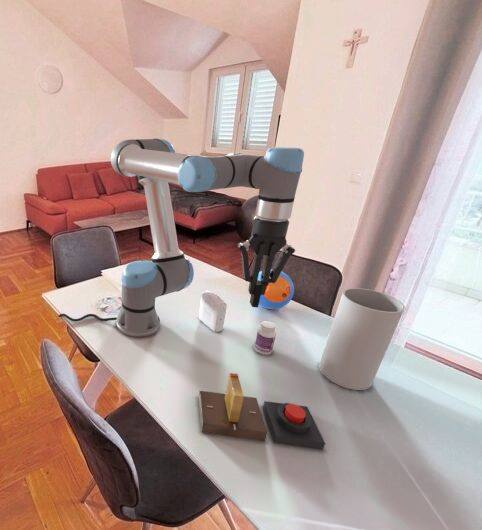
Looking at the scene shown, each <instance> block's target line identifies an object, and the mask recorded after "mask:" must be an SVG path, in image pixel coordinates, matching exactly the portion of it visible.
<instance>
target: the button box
mask: <svg viewBox="0 0 482 530" xmlns="http://www.w3.org/2000/svg"><path fill="white" fill-rule="evenodd" d="M288 404H291V403H288V402H284V403H283V402H275V401H266V400H264V401H263V406H262V409H263V413H264V415H265V418H266V421H267V425H268V427H269V431H270V434H271V436H272V439H273V443H274V444H279V445H286V446H292V447H293V446H294V447H300V448H305V449H306V448H307V449H314V450H320V451H323V450H324V448H325V445H326V442H325V439H324V438H323V435H322V434H321V432H320V430H319V428H318V426H317V423H316V421H315V420H314V417H313V416H312V414H311V411H310V409H309V407H308V406H306V405H299V404H298V406H300V407H301V408H302V409H303V410H304V411H305V413H306V416H305V419H304V422H303V423H300V424H298V423H294V422H292V421H290V420H289V419H287V418H286V416H285V409H286V406H287V405H288Z"/></svg>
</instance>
